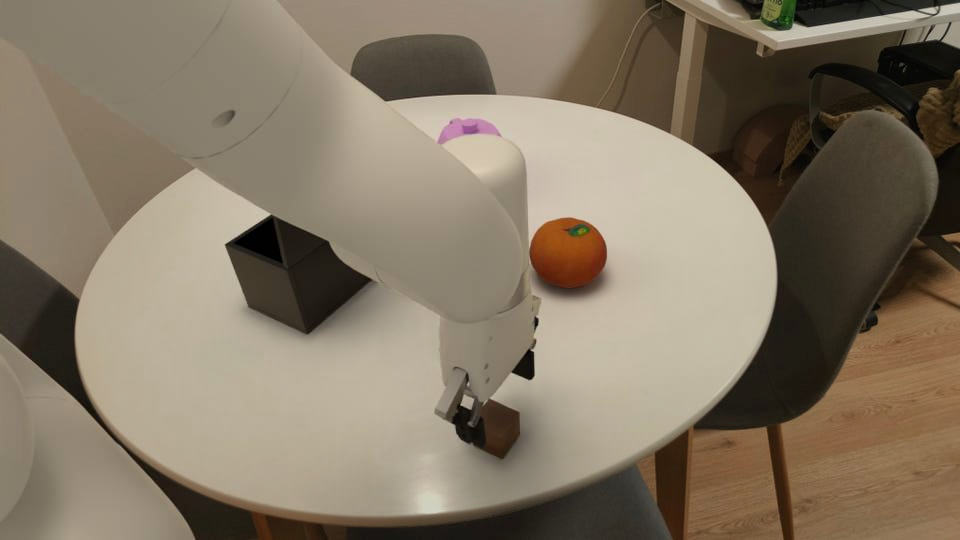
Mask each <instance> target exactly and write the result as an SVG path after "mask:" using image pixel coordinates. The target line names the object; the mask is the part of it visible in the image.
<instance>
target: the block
mask: <svg viewBox="0 0 960 540" xmlns="http://www.w3.org/2000/svg"><path fill="white" fill-rule="evenodd" d="M480 417H482V418H483V419H484V426H485V435H486V444H485V445H484V447H483V448H481V447H479V446H477V445H475V444H473V443H471V444H472V446H473V447H475V448H477V449H479V450H481V451H483V452H485V453H487V454H489V455H491V456H493V457H495V458H497V459H499V460H501V461H504V459H505V458H506V456H507V455H508V453H509V452H510V451H511V449H512V447H513V446H514V445H515V443H516V442H517V440H518V439H519V437H520V436H521V413H520V411H518V410H516V409H514V408H512V407H509V406H508V405H505V404H503V403H501V402H498V401H496V400H494V399H492V398H489V399H488V400H486V401H485V402H484V404H483V407H482V411H481V414H480Z"/></svg>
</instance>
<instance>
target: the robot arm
mask: <svg viewBox="0 0 960 540" xmlns="http://www.w3.org/2000/svg"><path fill="white" fill-rule="evenodd" d="M0 38H1V39H3V40H4V41H6V42H7V43H9V44H10V45H12V46H14V47H15V48H17V49H18V50H19V51H21V52H22V53H24V54H25V55H27V56H28V57H30V58H31V59H33V60H34V61H36V62H37V63H38V64H40V65H42V66H43V67H45V68H46V69H48V70H49V71H50V72H52V73H53V74H55V75H56V76H58V77H60V78H61V79H63V80H64V81H65V82H67V83H69V84H70V85H72V86H73V87H74V88H76V89H78V90H79V91H80V92H82V93H83V94H85V95H87V97H89V98H90V99H92V100H94V101H96V102H98V103H99V104H101V105H102V106H103V107H105V108H106V109H107V110H109V111H110V112H112V113H113V114H115V115H117V116H118V117H120V118H121V119H123V120H124V121H125V122H126V123H129V124H130V125H131V126H133V127H135V128H136V129H137V130H139V131H141V132H142V133H143V134H145V135H146V136H148V137H150V138H151V139H153V140H154V141H155V142H157V143H158V144H160V145H161V146H163V147H164V148H166V149H167V150H169V151H171V152H172V153H173V154H175V155H176V156H178V157H179V158H181V160H183V161H185V162H186V163H187V164H189V165H191V166H192V167H194V168H195V169H197V170H198V171H200V172H201V173H202V174H204V175H205V176H206V177H208V178H209V179H211V180H212V181H214V182H216V183H217V184H219V185H220V186H222V187H223V188H225V189H227V190H229V191H230V192H232V193H234V194H235V195H237V196H240V197H241V198H243V199H244V200H246V201H247V202H249V203H251V204H252V205H253V206H256V207H257V208H259V209H261V210H263V211H264V212H267V213H268V214H269V215H271V214H272V215H274V216H276V217H278V218H279V219H281V220H284V221H286V222H288V223H290V224H292V225H294V226H297V227H299V228H301V229H303V230H306V231H308V232H310V233H312V234H314V235H317V236H319V237H321V238H323V239H325V240H327V241H329V243H330V245H331V247H332V249H333V251H334V252H335V254H336V255H337V256H338V257H339V258H340V259H341V260H342V261H343V262H344V263H345V264H347V265H348V266H350V267H351V268H352V269H354V270H356V271H358V272H359V273H361V274H363V275H365V276H367V277H369V278H371V279H372V280H373V281H375V282H377V283H379V284H380V285H383V286H384V287H385V288H388V289H390V290H393V291H395V292H397V293H399V294H401V295H402V296H403V297H406V298H408V299H410V301H413V302H415V303H417V304H419V305H421V306H422V307H424V308H426V309H427V310H430V311H432V312H433V313H435V314H437V315H439V329H438V334H439V335H438V341H439V345H438V346H439V359H440V361H439V362H440V370H441V378H442V382H443V385H444V387H445V388H444V390H443V392H442V393H441V396H440V398H439V400H438V402H437V404H436V406H435V407H434V415H435V416H437V417H438V418H440V419H441V420H444V421H445V422H447V423H449V424H452V425H454V430H455V434H456V435H457V437H458V439H459V440H460V441H462V442H463V443H466V444H468V445H471V444H472V443H473V444H475V445H477V446H479V447H481V448H483V447H484V445H485V444H486V435H485V426H484V419H483V418H482V417H480V414H481V411H482V407H483V406H484V404H485V402H487V401H488V399H489V398H490V399H492V397H493V396H494V395H495V393H497V391H498V390H499V388H500V387H501V386H502V385H503V384H504V382H505V381H506V380H507V379H508V377H509V376H510V374H514V376H515V375H516V376H518V377H521V378H523V379H525V380H528V381H532V380H533V379H534V378H535V376H536V369H535V351H534V349H535V348H536V345H537V338H535V333H536V331H537V328H538V327H539V323H540V321H539V317H538V315H539V312H540V308H541V303H542V298H541V297H539V296H537V295H533V292H532V286H531V273H530V272H531V270H530V268H531V267H530V256H529V249H530V241H529V239H530V238H529V234H530V233H529V205H528V200H529V199H528V174H527V173H528V171H527V163H526V159H525V156H524V154H523V153H522V150H521V148H520V147H518V145H517V144H516V143H514V141H512V140H509V139H508V138H507V137H504V136H502V135H501V136H502V137H501V136H497V135H492V134H469V135H464V136H460V137H456V138H453V139H451V140H449V141H447V142H445V143H444V144H442V145H440V144H439V143H437V142H438V141H436V140H435V139H433V137H431V136H430V135H428V134H427V133H425V132H424V130H422V129H420V128H419V127H418V126H417V125H415V124H413V123H412V122H411V121H410V120H409V119H408V118H406V117H405V116H403V115H402V114H401V113H399V112H398V111H397V110H396V109H395V108H394V107H392V106H391V105H390V104H389V103H387V102H386V101H385V100H384V99H383V98H381V97H380V96H379V95H378V94H377V93H375V92H374V91H373V90H371V89H369V87H367V86H366V85H364V84H363V83H362V82H360V81H359V80H357V79H356V78H355V77H353V76H352V75H351V74H349V73H347V71H345V70H344V69H342V67H340V66H339V65H337V63H335V61H333V59H332V58H331V57H329V56H328V55H327V53H326V52H324V50H323V49H322V48H321V47H320V46H319V45H318V43H316V42H315V41H314V40H313V39H312V38H311V36H310V35H309V34H308V33H307V32H306V31H305V30H304V28H302V27H301V25H300V24H299V23H298V22H297V21H296V20H295V19H294V18H293V17H292V15H291V14H290V13H289V12H288V11H287V10H286V9H285V8H284V7H283V5H281V3H280V2H279V1H278V0H0ZM468 384H469V385H468ZM464 396H467V397H469V398H471V399H473V402H472V405H471V408H468V407H466V406H464V405H462V403H463V399H464ZM0 540H196V537H195V536H194V533H193V530H192V528H191V526H190V525H189V524H188V522H187V521H186V519H185V518H184V516H183V515H182V513H181V512H180V510H179V509H178V508H177V507H176V505H175V504H174V503H173V502H172V500H170V498H169V497H168V495H166V493H165V492H164V491H163V490H162V489H161V487H159V485H158V484H157V483H156V482H155V481H154V480H153V479H152V478H151V477H150V476H149V475H148V474H147V473H146V472H145V470H144V469H143V468H142V467H141V466H140V465H139V464H138V463H137V462H136V460H134V459H133V458H132V456H130V454H129V453H128V452H127V451H126V450H125V449H124V448H123V447H122V446H121V444H119V443H117V442H116V441H115V440H114V439H113V438H112V437H111V436H110V434H108V432H107V431H106V430H105V429H104V428H103V427H102V426H101V425H100V423H98V421H97V420H96V419H95V418H94V417H93V416H92V414H90V412H89V411H87V409H86V408H85V407H84V406H83V405H82V404H81V403H80V402H79V401H78V400H77V399H76V398H75V397H74V396H73V395H72V394H71V393H70V392H68V391H67V390H66V389H65V388H64V387H63V386H61V384H59V383H58V382H57V381H56V380H55V379H53V378H52V377H51V376H50V375H49V374H48V373H46V372H45V370H43V369H42V368H40V367H39V366H38V365H37V364H36V363H35V362H34V361H32V359H31V358H29V357H28V356H27V355H26V354H25V353H24V352H22V351H21V350H20V349H19V348H18V347H17V346H16V345H15V344H14V343H12V342H11V341H10V340H9V339H8V338H7V337H5V336H4V335H3V334H2V333H1V332H0Z"/></svg>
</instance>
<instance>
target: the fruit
mask: <svg viewBox="0 0 960 540" xmlns="http://www.w3.org/2000/svg"><path fill="white" fill-rule="evenodd" d="M607 260H608V247H607V244H606V241H605V239H604V237H603V235H602V233H600V231H599V229H598V228H597V227H595V226H594V225H593V224H591V223H590V222H587V221H585V220H583V219H579V218H575V217H570V216H569V217H560V218H556V219H552V220H549V221H547V222H545V223H543V224H542V225H541V226H540V227H538V229H537V230H536V232H535V233H534V234H533V237H532V239H531V241H530V243H529V262H530V264H531V266H532V268H533V269H534V271H535V272H536V274H537V276H538V277H540V279H542V280H543V281H544V282H546V283H548V284H550V285H554V286H558V287H562V288H568V289H571V288H572V289H573V288H576V287H582V286H584V285H586V284H588V283H591V282H592V281H594V280H595V279H596V278H597V277H598V276H599V275H600V274H601V272H602V271H603V269H604V268H605V267H606V265H607Z"/></svg>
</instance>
